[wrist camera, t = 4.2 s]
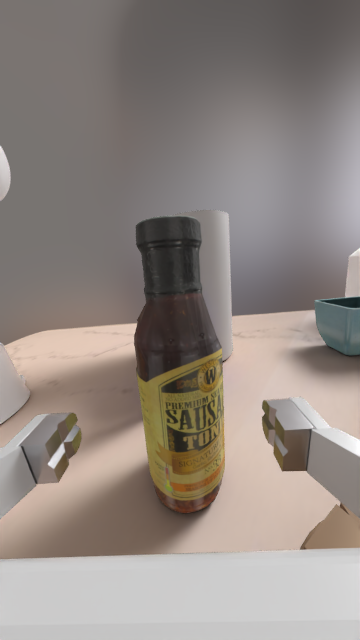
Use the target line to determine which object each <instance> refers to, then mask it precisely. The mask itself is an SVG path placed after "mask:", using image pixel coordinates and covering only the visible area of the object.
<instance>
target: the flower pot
mask: <svg viewBox="0 0 360 640" xmlns="http://www.w3.org/2000/svg"><path fill="white" fill-rule="evenodd" d="M314 302H315V314H316V323H317V328H318V331H319V333H320V335H321V337H322V338H323V340H324V341H325V343H326V344H327V345H328V346H330V347H332V348H334V349H336V350H337V351H339V352H341V353H343V354H345V355H360V296H356V297H345V298H334V299H325V300H315V301H314Z"/></svg>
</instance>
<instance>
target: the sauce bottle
mask: <svg viewBox="0 0 360 640" xmlns="http://www.w3.org/2000/svg"><path fill="white" fill-rule="evenodd" d="M136 242H137V243H136V245H137V247H138V249H139V251H140V252H141V255H142V263H143V270H144V281H145V288H144V293H145V297H146V304H145V306H144V308H143V310H142V312H141V314H140V316H139V318H138V320H137V321H138V323H137V328H136V332H135V335H134V346H135V351H136V357H137V368H136V372H137V380H138V387H139V394H140V401H141V408H142V416H143V423H144V431H145V439H146V447H147V454H148V462H149V469H150V474H151V477H152V479H153V483H154V487H155V490H156V493H157V495H158V497H159V499H160V500H161V501H162V502H163V504H165V506H167V507H169V508H170V509H171V510H173V511H176V512H180V513H190V512H194V511H198V510H201V509H203V508H204V507H207V506H208V505H209V504H210V502H212V501H214V500H215V497H216V495H217V494H218V491H219V488H220V485H221V482H222V477H223V473H224V467H225V452H224V406H223V371H222V346H221V344H220V342H219V340H218V338H217V335H216V332H215V329H214V327H213V324H212V321H211V318H210V315H209V312H208V309H207V306H206V303H205V300H204V297H203V294H202V284H201V282H200V260H199V250H200V247H201V244H202V237H201V225H200V222H199V221H198V220H197V219H196V218H194V217H190V216H180V215H177V216H160V217H153V218H150V219H146V220H143V221H141V222H139V223H138V224H137V225H136Z"/></svg>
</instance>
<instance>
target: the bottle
mask: <svg viewBox="0 0 360 640" xmlns="http://www.w3.org/2000/svg"><path fill="white" fill-rule="evenodd" d="M356 296H360V248H359V249H358V250H357V251H355V252H354V253H353V254H352V255H350V256H349V263H348V273H347V282H346V292H345V297H356Z"/></svg>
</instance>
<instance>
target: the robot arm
mask: <svg viewBox="0 0 360 640" xmlns="http://www.w3.org/2000/svg"><path fill="white" fill-rule="evenodd" d="M9 186H10V168H9V164H8V161H7V158H6V156H5V153H4V152H3V149H2V147H1V146H0V201H1V200H2V199H3V198H4V197H5V195H6V194H7V192H8V189H9ZM25 382H26V380H25V378H24V376H23V375H19V373H18V372H17V370H16V368H15V366H14V364H13V362H12V360H11V358H10V356H9V354H8V352H7V351H6V349H5V347H4V345H3V344H2V343H0V424H1V423H3V422H4V421H5V420H7V419H8V418H9V417H11V416H12V415H13V414H14V413H16V412H17V411H18V410H19V409H20V408H21V407H22V406H23V405H24V404H25V403H26V401H27V400H28V398H29V396H30V390H29V389H28V388H27V387H26V385H25ZM262 409H263V410H264V412H265V414H264V416H263V417H262V425H263V431H264V434H265V437H266V439H267V441H268V443H269V444H271V445H272V446H273V447H274V455H275V457H276V459H277V461H278V463H279V465H280V467H281V469H282V471H307V473H309V474H310V475H311V476H312V477H313V478H314V479H315V480H316V481H318V482H319V483H320V484H321V485H322V486H323V487H324V488H325V489H327V490H328V491H329V492H330V493H331V494H332V495H333V496H335V497H336V498H337V499H338V500H339V501H340V502H341V503H342V504H344V505H345V506H346V507H347V508H348V509H349V510H350V511H352V512H353V513H354V514H355V515H356V516H357V517H358V518H359V519H360V440H359V439H357V438H355V437H353V436H351V435H349V434H347V433H345V432H343V431H341V430H339V429H337V428H331V427H330V426H329V425H328V424H327V423H326V422H325V421H324V420H323V418H322V417H321V416H320V415H319V414H318V413H317V412H316V411H315V410H314V409H313V408H312V407H311V406H310V405H309V404H308V403H307V401H306V400H305V399H304V398H302V397H294V398H288V399H287V398H286V399H272V400H263V405H262ZM76 422H77V417H76V414H74V413H53V414H40V415H37V416H35V417H34V418H33V419H32V420H31V421H30V422H29V423H28V424H27V425H26V426H25V427H24V428H23V429H22V430H21V431H20V432H19V433H18V434H17V435H16V436H15V437H14V438H13V439H12V440H11V441H10V442H9V443H8V444H7V445H6V446H5V447H2V448H0V519H1V518H2V517H3V516H4V515H5V514H6V513H7V512H8V511H9V510H11V509H12V508H13V507H14V506H15V505H16V504H17V503H18V502H19V501H20V500H21V499H22V498H23V497H25V496H26V495H27V494H28V493H29V492H30V491H31V490H32V489H33V488H34V487H35V486H36V484H45V483H57V482H59V481H60V479H61V477H62V475H63V474H64V472H65V470H66V469H67V467H68V465H69V459H70V458H71V457H72V456H73V455H74V454H75V453H76V452H77V450H78V448H79V446H80V442H81V430H80V428H79V427H78V426H76V425H75V424H76ZM0 640H360V548H338V549H307V550H275V551H243V552H211V553H179V554H148V555H118V556H88V557H57V558H26V559H0Z"/></svg>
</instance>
